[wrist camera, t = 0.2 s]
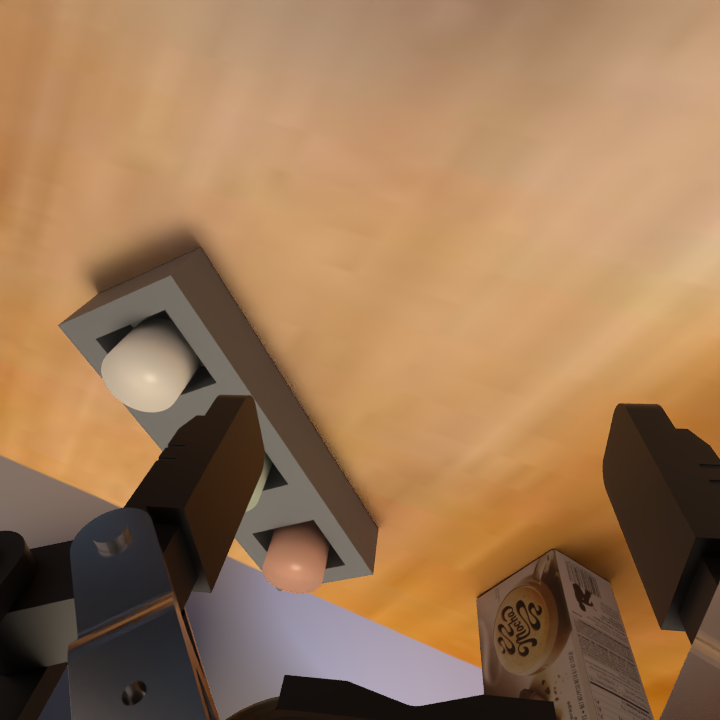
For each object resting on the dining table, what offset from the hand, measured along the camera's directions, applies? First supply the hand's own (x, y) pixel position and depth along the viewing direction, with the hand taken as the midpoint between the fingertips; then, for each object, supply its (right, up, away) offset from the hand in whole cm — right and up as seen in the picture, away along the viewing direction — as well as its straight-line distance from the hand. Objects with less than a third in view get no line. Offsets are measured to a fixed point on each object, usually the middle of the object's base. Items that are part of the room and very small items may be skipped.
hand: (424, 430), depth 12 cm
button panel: (-9, -3, +24) cm, 26 cm away
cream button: (-13, +2, +18) cm, 22 cm away
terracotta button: (-6, -11, +26) cm, 29 cm away
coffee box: (+13, -17, +30) cm, 37 cm away
